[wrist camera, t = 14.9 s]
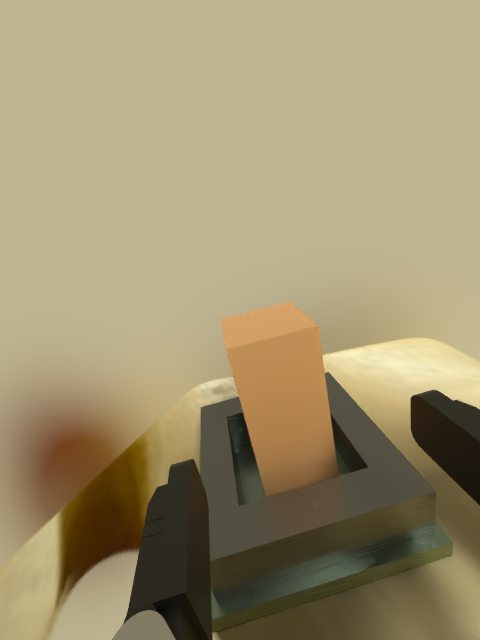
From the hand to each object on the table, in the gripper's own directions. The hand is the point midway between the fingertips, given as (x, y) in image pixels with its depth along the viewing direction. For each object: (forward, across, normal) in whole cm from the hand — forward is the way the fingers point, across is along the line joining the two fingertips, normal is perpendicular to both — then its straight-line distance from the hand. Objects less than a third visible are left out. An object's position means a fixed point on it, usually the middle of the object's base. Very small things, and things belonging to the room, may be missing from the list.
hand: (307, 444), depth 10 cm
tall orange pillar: (+6, 0, +8) cm, 10 cm away
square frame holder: (+6, 0, +9) cm, 11 cm away
